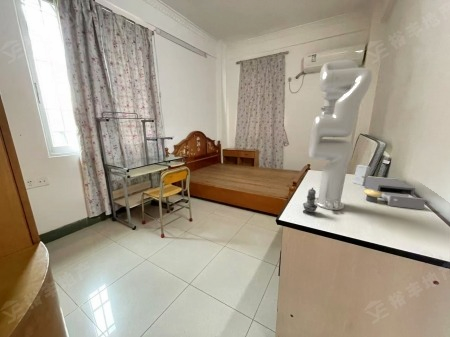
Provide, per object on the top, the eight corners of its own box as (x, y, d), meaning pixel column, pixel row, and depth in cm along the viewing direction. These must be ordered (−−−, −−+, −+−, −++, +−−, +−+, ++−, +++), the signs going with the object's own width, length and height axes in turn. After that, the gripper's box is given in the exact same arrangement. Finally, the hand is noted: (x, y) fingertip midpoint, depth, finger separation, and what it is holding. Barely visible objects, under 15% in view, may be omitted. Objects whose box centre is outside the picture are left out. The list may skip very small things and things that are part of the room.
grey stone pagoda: (304, 208, 87) (307, 184, 84) (317, 212, 83) (321, 187, 80) (300, 213, 82) (303, 187, 79) (314, 217, 79) (318, 191, 76)
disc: (384, 197, 90) (385, 194, 90) (367, 196, 92) (368, 193, 92) (377, 192, 97) (378, 189, 96) (362, 191, 99) (362, 188, 98)
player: (411, 201, 95) (415, 188, 93) (375, 197, 100) (378, 185, 98) (394, 190, 110) (397, 179, 108) (364, 187, 114) (366, 176, 113)
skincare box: (352, 182, 123) (356, 165, 119) (356, 181, 125) (359, 164, 122) (362, 185, 117) (366, 167, 114) (366, 184, 119) (370, 166, 116)
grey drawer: (423, 209, 85) (426, 199, 84) (388, 205, 89) (391, 196, 88) (403, 196, 100) (405, 187, 99) (374, 193, 104) (376, 185, 103)
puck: (378, 203, 93) (379, 196, 92) (367, 201, 94) (369, 195, 93) (374, 199, 97) (375, 193, 96) (364, 198, 98) (365, 192, 97)
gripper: (317, 109, 114) (313, 137, 119) (347, 109, 112) (342, 137, 116) (313, 109, 121) (310, 136, 126) (341, 110, 119) (337, 136, 123)
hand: (325, 137), depth 121 cm, fingers open, 9 cm apart
